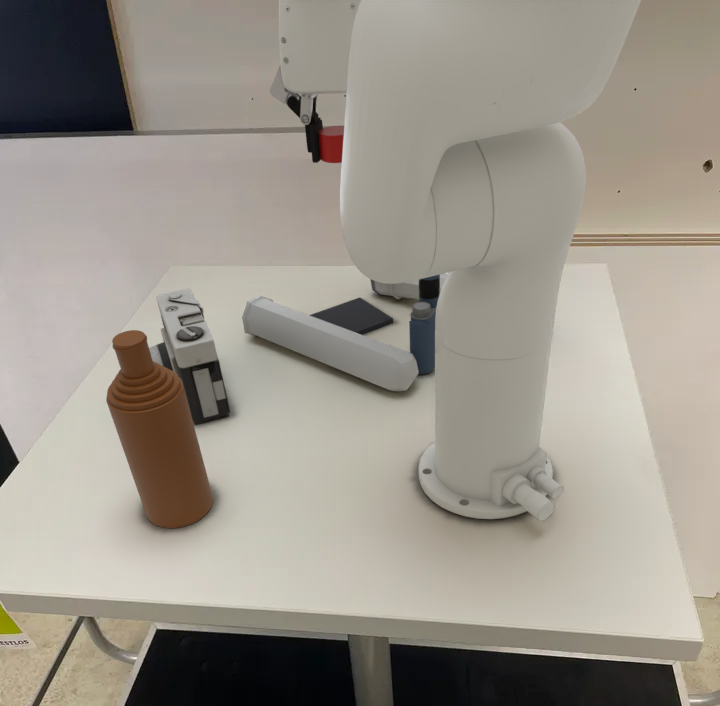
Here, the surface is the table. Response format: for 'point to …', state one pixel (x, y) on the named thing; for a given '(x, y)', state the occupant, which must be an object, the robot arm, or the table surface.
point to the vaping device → (424, 324)
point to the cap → (331, 144)
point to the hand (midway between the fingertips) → (337, 157)
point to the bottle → (157, 435)
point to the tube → (330, 344)
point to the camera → (191, 355)
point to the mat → (355, 316)
